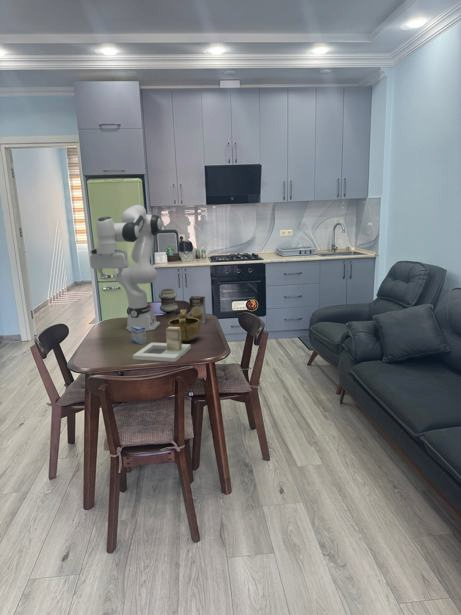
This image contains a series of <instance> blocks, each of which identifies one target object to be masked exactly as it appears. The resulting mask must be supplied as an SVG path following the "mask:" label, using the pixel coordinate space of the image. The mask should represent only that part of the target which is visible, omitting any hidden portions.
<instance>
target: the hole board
mask: <svg viewBox="0 0 461 615" xmlns="http://www.w3.org/2000/svg"><path fill="white" fill-rule="evenodd" d="M181 344H182V349H181V350H180V351H167V342H150V343H149V344H147V345H146V346H144V347H143V348H141V349H140V350H138V351H137V352H136V353H134V354H132V359H133V360H140V361H152V362H153V361H156V362H172V363H173V362H174V363H176V362H177V361H179V359H180V358H181V356H182V357H183V356H184V355H185V354H186V353H187V352H188V351H190V350H191V349H192V344H187V343H181Z"/></svg>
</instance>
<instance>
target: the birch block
mask: <svg viewBox="0 0 461 615" xmlns="http://www.w3.org/2000/svg"><path fill="white" fill-rule="evenodd" d="M165 337H166V343H167V351H180V350H181V349H182V344H183V343H182V342H181V330H180V327H167V328H165Z"/></svg>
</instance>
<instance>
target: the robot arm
mask: <svg viewBox="0 0 461 615" xmlns="http://www.w3.org/2000/svg"><path fill="white" fill-rule="evenodd" d="M121 221H122V222H114V219H113V217H112V216H102V217H98V219H97V220H96V236H97V239H98V243H97V244H98V245H97V246H98V247H95V248H93V249H90V250H89V253H90V256H89V261H90V262H89V263H90V267H91V269H97V272H98V273H99V274H100V275H99V276H100V278H105V277H106V273H104V272H103V269H114V272H113V277H114V280H115V281H116V282H118V284H119V285H121V287H122V288H123V289H124V291H125V294H126V297H127V302H128V307H127V308H128V309H127V311H128V315H127V326H126V327H125V329H126V330H128V331H129V332H131V327H132V326H141V327H144V328H145V331H146V332H148V331H154V330H156V328H158V327H159V326H160V324H161V322H160V321H158V320H157V317H156V315H155V313H153V312H152V311H151V308H152V305H151V304H148V296H147V292H146V291H145V290H144V289H142V288H140V286H139V284H143V285H146V284H151V283H154V281H155V280H156V279H157V277H158V276H157V275H158V274H157V270H156V268H155V267H154V266H153V265H152V263H151V257H152V256H151V255H152V251H153V247H154V237H155V236H156V235H157V234H158V233H159V232H160V230H162V222H163V221H162V219H161V217H160V215H158V214H147V210H146V208H145V207H144V206H143V205H141V204H135V205H131V206H129V207H127V209H125V210H123V213H122V214H121ZM121 242H122V243H124V242H126V243H134V244H133V245H134V246H133V248H132V251H131V254H130V255H131V259H132V261H133V262H135V264H130V263H129V259H128V252H127V251H126V250H125V249H118V246H117V243H121Z"/></svg>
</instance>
